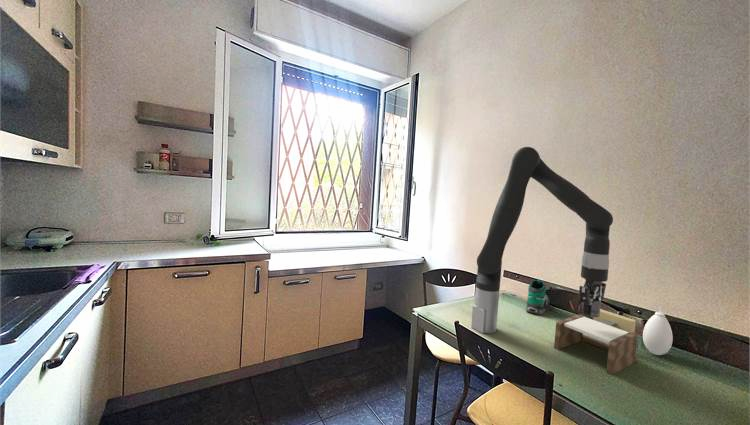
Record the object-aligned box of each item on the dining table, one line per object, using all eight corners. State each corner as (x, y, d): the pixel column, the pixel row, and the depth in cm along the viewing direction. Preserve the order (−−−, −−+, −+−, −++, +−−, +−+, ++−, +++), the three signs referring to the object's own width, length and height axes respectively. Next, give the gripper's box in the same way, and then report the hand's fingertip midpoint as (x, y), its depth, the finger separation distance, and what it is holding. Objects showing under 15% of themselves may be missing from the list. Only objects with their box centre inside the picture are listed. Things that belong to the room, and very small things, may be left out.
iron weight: (595, 318, 100) (596, 303, 99) (579, 312, 104) (580, 299, 104) (602, 315, 102) (603, 301, 102) (586, 310, 107) (587, 297, 106)
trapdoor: (609, 351, 95) (611, 333, 94) (562, 332, 107) (564, 316, 107) (638, 337, 106) (640, 321, 105) (593, 321, 118) (594, 307, 118)
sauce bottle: (671, 355, 107) (677, 307, 106) (669, 362, 102) (675, 312, 101) (642, 345, 113) (647, 300, 112) (639, 352, 108) (644, 305, 107)
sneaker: (553, 305, 154) (556, 277, 153) (540, 317, 136) (543, 286, 135) (534, 300, 160) (536, 273, 159) (519, 311, 143) (522, 281, 142)
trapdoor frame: (611, 375, 93) (614, 344, 92) (554, 347, 109) (556, 321, 108) (637, 360, 102) (640, 332, 102) (580, 337, 118) (583, 313, 117)
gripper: (592, 261, 109) (588, 306, 110) (572, 265, 102) (568, 312, 103) (617, 266, 102) (612, 313, 103) (597, 270, 95) (592, 321, 96)
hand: (590, 313), depth 103 cm, fingers closed on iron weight, 5 cm apart
